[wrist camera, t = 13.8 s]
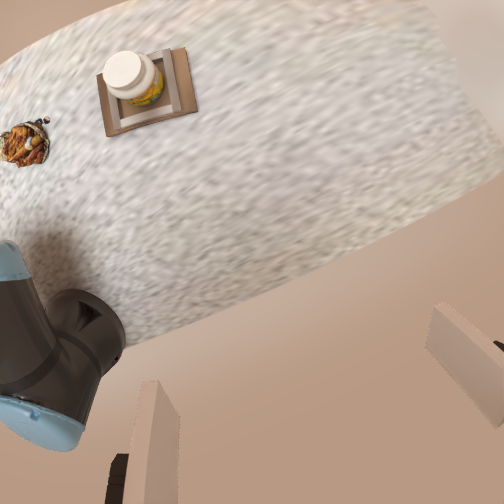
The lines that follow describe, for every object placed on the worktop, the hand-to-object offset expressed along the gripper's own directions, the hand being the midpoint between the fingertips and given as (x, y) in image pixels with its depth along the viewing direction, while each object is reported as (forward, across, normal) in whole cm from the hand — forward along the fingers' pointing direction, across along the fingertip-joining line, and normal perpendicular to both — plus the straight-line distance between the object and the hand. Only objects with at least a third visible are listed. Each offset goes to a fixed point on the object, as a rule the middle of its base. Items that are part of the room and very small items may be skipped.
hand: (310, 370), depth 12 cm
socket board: (+29, -9, +20) cm, 36 cm away
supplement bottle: (+27, -9, +20) cm, 35 cm away
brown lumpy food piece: (+29, -30, +20) cm, 47 cm away
